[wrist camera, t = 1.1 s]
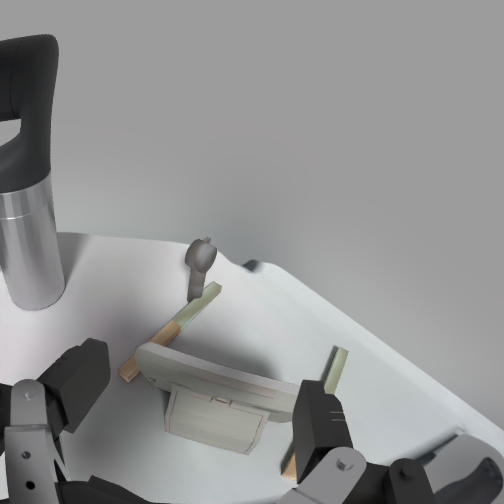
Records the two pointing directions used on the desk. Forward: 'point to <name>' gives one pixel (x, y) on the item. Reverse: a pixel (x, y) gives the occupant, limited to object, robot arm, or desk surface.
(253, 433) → the digital clock
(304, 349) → the desk surface
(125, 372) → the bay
